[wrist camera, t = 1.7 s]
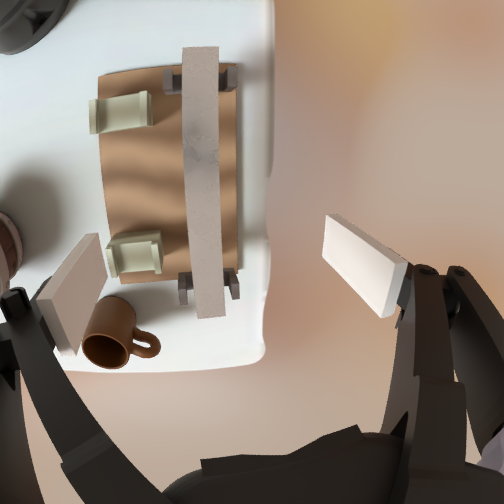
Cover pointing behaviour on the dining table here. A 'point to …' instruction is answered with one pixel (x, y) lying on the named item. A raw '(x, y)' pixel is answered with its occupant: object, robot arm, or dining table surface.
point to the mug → (115, 335)
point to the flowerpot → (9, 252)
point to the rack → (159, 175)
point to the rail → (203, 177)
